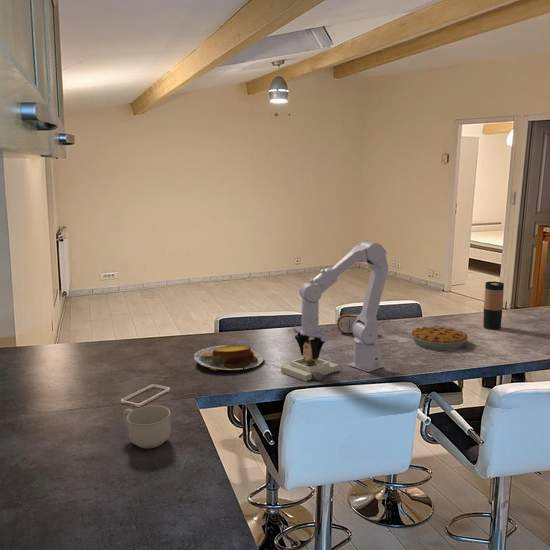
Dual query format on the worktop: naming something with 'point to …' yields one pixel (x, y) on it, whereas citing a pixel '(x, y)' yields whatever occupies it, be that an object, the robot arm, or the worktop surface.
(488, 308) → the travel mug
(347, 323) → the tin
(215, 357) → the food on plate
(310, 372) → the cream peg hole base
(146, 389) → the phone case
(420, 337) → the pie
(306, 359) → the spout can
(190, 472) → the worktop surface
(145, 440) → the teacup
